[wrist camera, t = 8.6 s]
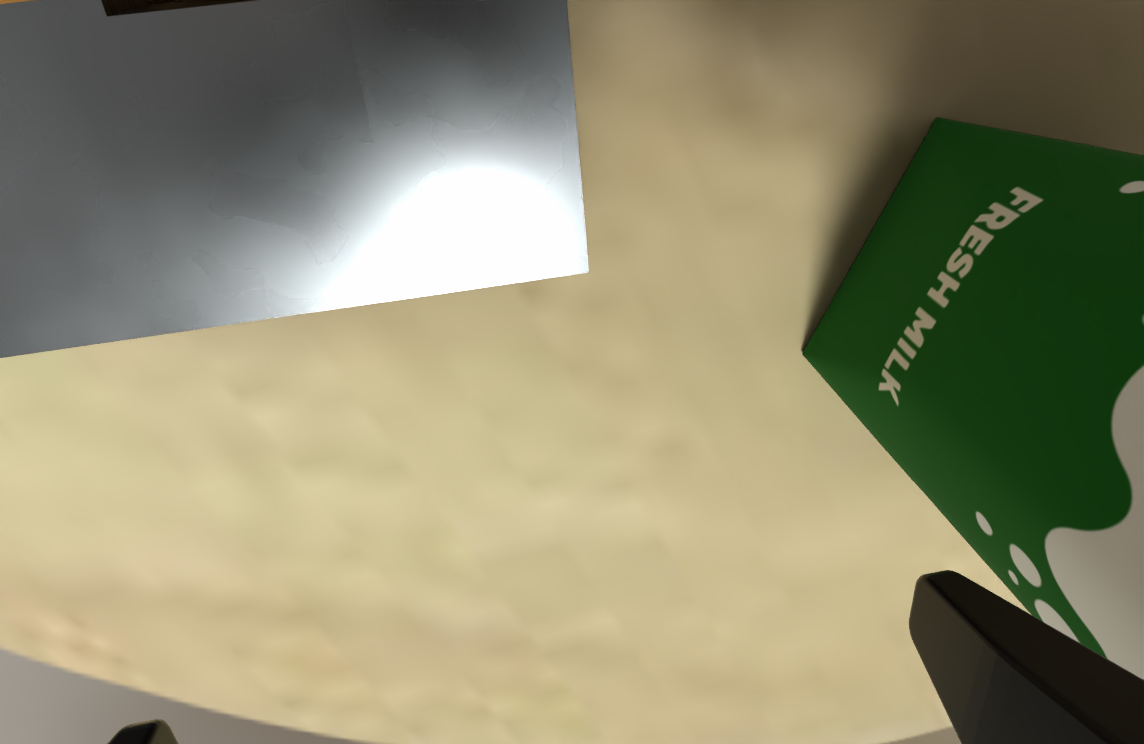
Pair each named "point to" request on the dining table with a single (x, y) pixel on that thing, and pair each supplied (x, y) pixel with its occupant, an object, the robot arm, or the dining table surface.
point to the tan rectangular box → (11, 1)
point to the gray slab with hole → (276, 159)
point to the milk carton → (1012, 364)
